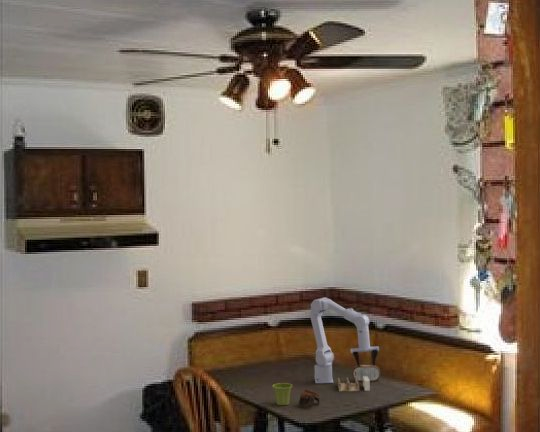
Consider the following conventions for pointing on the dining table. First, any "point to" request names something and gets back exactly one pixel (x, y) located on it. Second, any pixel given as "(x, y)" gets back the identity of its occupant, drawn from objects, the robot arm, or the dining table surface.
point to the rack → (348, 385)
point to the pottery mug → (310, 399)
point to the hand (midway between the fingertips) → (366, 366)
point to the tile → (366, 383)
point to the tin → (366, 372)
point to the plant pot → (282, 393)
